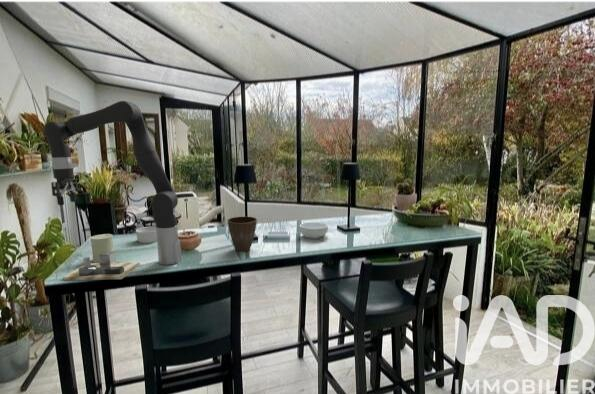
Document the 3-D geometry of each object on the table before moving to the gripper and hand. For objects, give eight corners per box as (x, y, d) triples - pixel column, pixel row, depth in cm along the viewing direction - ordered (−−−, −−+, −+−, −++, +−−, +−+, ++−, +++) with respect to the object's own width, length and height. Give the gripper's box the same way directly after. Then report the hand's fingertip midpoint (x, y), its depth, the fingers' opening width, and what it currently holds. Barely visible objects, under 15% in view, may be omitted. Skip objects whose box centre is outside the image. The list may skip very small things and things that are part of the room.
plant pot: (253, 243, 180) (252, 215, 177) (260, 251, 166) (259, 221, 164) (226, 247, 175) (225, 217, 172) (231, 255, 161) (230, 224, 158)
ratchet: (126, 269, 141) (125, 254, 140) (118, 275, 134) (117, 259, 133) (85, 270, 141) (83, 255, 139) (75, 276, 134) (73, 260, 133)
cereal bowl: (328, 241, 184) (329, 228, 183) (299, 241, 184) (299, 229, 183) (326, 233, 200) (326, 221, 199) (299, 233, 201) (299, 221, 200)
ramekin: (161, 242, 184) (160, 230, 183) (135, 245, 179) (134, 233, 178) (161, 236, 196) (160, 225, 195) (137, 239, 192) (136, 227, 191)
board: (139, 265, 149) (139, 262, 149) (121, 279, 134) (121, 276, 133) (87, 265, 149) (87, 263, 149) (62, 280, 134) (62, 277, 133)
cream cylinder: (118, 259, 158) (115, 235, 156) (96, 264, 151) (93, 239, 149) (111, 255, 164) (108, 231, 162) (90, 260, 157) (87, 235, 155)
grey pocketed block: (116, 264, 148) (115, 251, 147) (110, 267, 143) (109, 254, 142) (106, 264, 148) (104, 251, 147) (100, 268, 143) (98, 254, 142)
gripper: (60, 168, 139) (65, 206, 141) (81, 166, 153) (85, 200, 156) (42, 168, 139) (47, 206, 141) (64, 166, 153) (69, 200, 155)
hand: (67, 203), depth 148 cm, fingers open, 8 cm apart
